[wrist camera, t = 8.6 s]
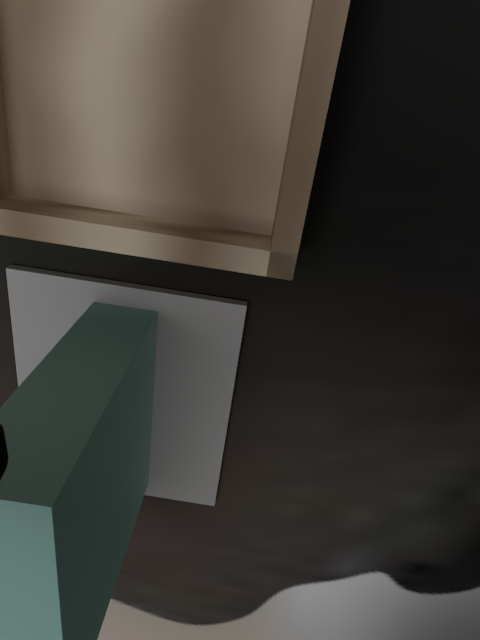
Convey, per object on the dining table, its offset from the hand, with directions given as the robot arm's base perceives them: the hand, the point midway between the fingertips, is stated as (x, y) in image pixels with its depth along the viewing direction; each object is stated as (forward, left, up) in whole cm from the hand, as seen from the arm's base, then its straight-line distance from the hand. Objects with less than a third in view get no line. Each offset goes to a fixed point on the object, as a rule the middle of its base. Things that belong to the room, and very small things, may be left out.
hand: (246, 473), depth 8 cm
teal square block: (+6, +9, -12) cm, 16 cm away
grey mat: (+6, +9, -13) cm, 17 cm away
